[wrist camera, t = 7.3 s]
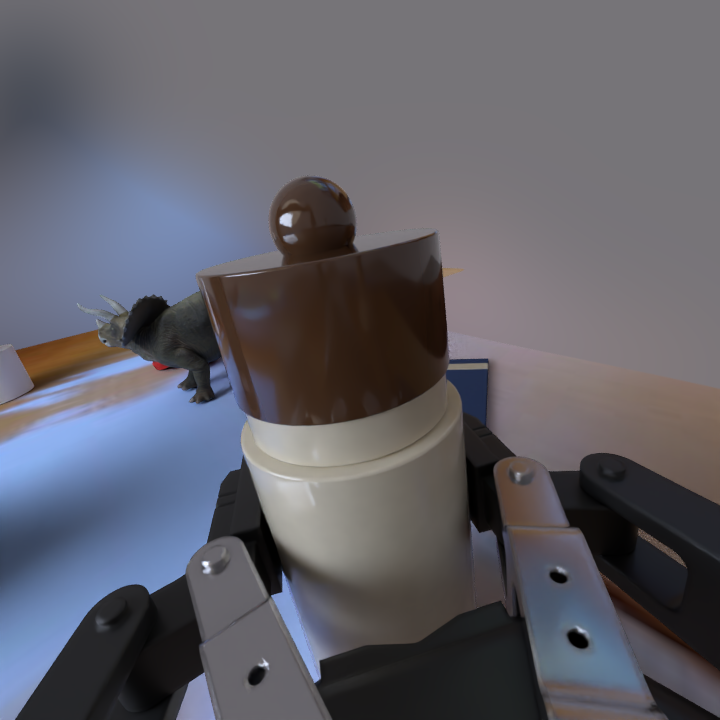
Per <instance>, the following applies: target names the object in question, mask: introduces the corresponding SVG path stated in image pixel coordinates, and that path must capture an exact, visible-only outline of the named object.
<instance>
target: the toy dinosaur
mask: <svg viewBox="0 0 720 720" xmlns="http://www.w3.org/2000/svg"><path fill="white" fill-rule="evenodd" d="M100 297H101V298H103V299H104V300H106V301H107V302H108V303H109V304H110V305H111V306H112V307H113V309H114V310H115V311H116V312H117V313H118V315H119V316H117V315H114V314H112V313H110V312H107V311H104V310H98V309H86V308H84V307H82V306H81V305H80V304H77V306H78V307H79V309H80V310H82V311H83V312H85V313H88V314H92V315H96V316H99V317H102V318H104V319H106V320H108V321H109V322H110V324H108V323H105V322H103V321H101V320H99V319H96V323H97V325H98V328H99V329H98V336H99V339H100V341H101V342H102V343H105V345H107V346H108V347H121V348H126V349H130V350H132V351H133V352H134V353H135V354H138V355H140V356H141V357H142V358H143V359H144V360H147V361H153V362H159V363H160V364H163V365H165V366H169V367H175V368H184V369H187V370H189V374H188V377H187V378H186V379H185V380H184V381H183V382H182V383H180V384H179V385H178V386H177V387H178V388H182V390H188V389H191V388H195V387H197V390H196V394H195V395H194V396H193V397H192V398H191V399H190V401H189V402H190V403H192V402H195V401H196V403H197V404H198V403H200V402H202V401H204V400H207V401H208V400H210V399H211V398H214V397H215V395H214V393H213V390H212V388H211V387H210V367H209V364H208V363H209V362H211V361H215V360H217V359H219V358H220V357H221V354H220V351H219V347H218V344H217V341H216V338H215V335H214V332H213V329H212V326H211V323H210V320H209V317H208V314H207V311H206V307H205V304H204V301H203V298H202V295H201V292H200V291H199V292H196V293H195V294H192V295H191V296H189V297H187V298H185V299H184V300H182V301H181V302H178V303H177V304H175V305H173V306H171V307H170V306H168V305H167V300H164V299H163V298H162V296H160V297H156V296H155V295H152V296H151V297H147V296H145V297H144V298H143V299H138V300H137V302H136V304H134V305H133V307H132V309H131V311H129V312H128V311H127V310H126V309H125V308H124V307H122V306H121V305H120V304H119V303H117V302H115V301H114V300H111V299H109V298H107V297H105V296H103V295H100Z"/></svg>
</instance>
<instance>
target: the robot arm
mask: <svg viewBox="0 0 720 720" xmlns="http://www.w3.org/2000/svg"><path fill="white" fill-rule="evenodd" d="M463 422H464V436H465V450H466V463H467V477H468V491H469V504H470V518H471V521H472V522H473V524H474V525H475V527H476V528H477V530H478V532H479V533H481V532H485V531H488V530H491V529H492V531H493V532H494V534H495V535H496V546H497V553H498V559H499V565H500V572H501V578H502V584H503V590H504V597H505V603H506V609H505V607H504V605H503V604H502V602H501V601H498V602H495V603H492V604H489V605H486V606H483V607H480V608H477V609H474V610H471V611H468V612H465V613H462V614H459V615H457V616H456V617H454V618H453V619H451V620H450V621H448V622H447V623H446V624H444V625H443V626H441V627H440V628H438V629H437V630H435V631H434V632H433V633H431V634H430V635H428V636H427V637H425V638H424V639H423V640H421V641H419V642H416V643H408V644H381V645H365V646H362V647H359V648H356V649H352V650H349V651H346V652H343V653H340V654H337V655H334V656H331V657H328V658H325V659H322V660H319V663H320V675H321V679H320V680H319V681H317V682H316V683H314V681H313V679H312V677H311V675H310V673H309V671H308V669H307V667H306V665H305V663H304V661H303V659H302V657H301V655H300V653H299V651H298V649H297V647H296V645H295V643H294V641H293V639H292V637H291V635H290V633H289V631H288V629H287V627H286V625H285V623H284V621H283V619H282V616H281V614H280V612H279V610H278V608H277V606H276V604H275V602H274V600H273V599H272V597H271V595H274V594H277V593H280V592H282V568H281V565H280V562H279V559H278V556H277V553H276V550H275V547H274V544H273V541H272V538H271V535H270V532H269V529H268V526H267V523H266V520H265V517H264V514H263V511H262V508H261V505H260V502H259V499H258V496H257V493H256V490H255V487H254V485H253V482H252V479H251V476H250V473H249V470H248V467H247V464H246V461H245V458H244V455H243V458H242V464H241V469H239V470H235V471H231V472H230V473H229V474H228V475H227V477H226V478H225V479H224V481H223V482H222V483H221V486H220V490H219V494H218V499H217V503H216V508H215V511H214V515H213V519H212V524H211V528H210V532H209V536H208V540H207V544H205V545H204V546H203V547H201V548H200V549H199V550H198V551H197V552H196V553H195V554H194V555H193V556H192V558H191V559H190V561H189V563H188V565H187V568H186V574H185V575H183V576H182V577H180V578H179V579H177V580H175V581H174V582H172V583H170V584H168V585H166V586H165V587H163V588H161V589H159V590H157V591H156V592H154V593H152V594H149V592H148V590H147V589H146V588H145V587H144V586H142V585H137V584H135V585H128V586H125V587H122V588H119V589H117V590H115V591H113V592H112V593H110V594H108V595H107V596H105V597H104V598H103V599H102V600H100V601H99V602H98V603H97V604H96V605H95V606H94V607H93V608H92V609H91V610H90V611H89V612H88V613H87V615H86V616H85V617H84V619H83V620H82V622H81V623H80V625H79V626H78V628H77V629H76V630H75V632H74V633H73V635H72V636H71V638H70V639H69V641H68V642H67V644H66V645H65V647H64V648H63V650H62V651H61V653H60V654H59V656H58V657H57V658H56V660H55V661H54V663H53V664H52V666H51V667H50V669H49V670H48V672H47V673H46V675H45V676H44V678H43V679H42V681H41V682H40V684H39V685H38V687H37V688H36V689H35V691H34V692H33V694H32V695H31V697H30V698H29V700H28V701H27V703H26V704H25V706H24V707H23V709H22V710H21V712H20V713H19V715H18V716H17V718H16V719H15V720H176V718H177V715H178V712H179V710H180V707H181V704H182V701H183V698H184V696H185V693H186V690H187V687H188V684H189V682H190V681H192V680H193V679H195V678H196V677H198V676H199V675H201V674H202V673H204V672H205V676H206V681H207V685H208V689H209V693H210V697H211V702H212V706H213V710H214V714H215V718H216V720H720V718H719V717H717V716H716V715H714V714H712V713H710V712H709V711H707V710H705V709H703V708H702V707H700V706H698V705H696V704H695V703H693V702H691V701H689V700H688V699H686V698H684V697H682V696H681V695H679V694H677V693H675V692H674V691H672V690H670V689H668V688H667V687H665V686H663V685H662V684H660V683H658V682H656V681H655V680H653V679H651V678H649V677H648V676H646V675H644V674H642V671H641V669H640V667H639V664H638V662H637V660H636V657H635V655H634V653H633V650H632V648H631V646H630V643H629V641H628V639H627V636H626V634H625V631H624V629H623V627H622V624H621V622H620V620H619V617H618V615H617V613H616V610H615V608H614V606H613V603H612V601H611V599H610V596H609V594H608V591H607V589H606V587H605V584H604V582H603V580H602V577H601V575H600V573H599V571H600V572H601V573H603V574H604V575H605V576H606V577H607V578H609V579H610V580H611V581H612V582H613V583H615V584H616V585H617V586H618V587H619V588H621V589H622V590H623V591H624V592H625V593H627V594H628V595H629V596H630V597H631V598H633V599H634V600H635V601H636V602H637V603H639V604H640V605H641V606H642V607H643V608H645V609H646V610H647V611H648V612H649V613H651V614H652V615H653V616H654V617H655V618H657V619H658V620H659V621H660V622H661V623H663V624H664V625H665V626H666V627H667V628H669V629H670V630H671V631H672V632H673V633H675V634H676V635H677V636H678V637H679V638H681V639H682V640H683V641H684V642H685V643H687V644H688V645H689V646H690V647H691V648H693V649H694V650H695V651H696V652H697V653H699V654H700V655H701V656H702V657H704V658H705V659H706V660H707V661H708V662H710V663H711V664H712V665H713V666H714V667H716V668H717V669H718V670H719V671H720V505H718V504H716V503H714V502H712V501H710V500H708V499H706V498H704V497H702V496H700V495H698V494H696V493H694V492H692V491H690V490H688V489H686V488H684V487H682V486H681V485H679V484H677V483H675V482H673V481H671V480H669V479H667V478H665V477H663V476H661V475H659V474H657V473H655V472H653V471H651V470H649V469H647V468H645V467H643V466H641V465H639V464H637V463H636V462H634V461H632V460H630V459H627V458H625V457H622V456H619V455H615V454H609V453H595V454H591V455H588V456H586V457H584V458H583V459H582V461H581V463H580V471H558V472H555V471H548V470H547V469H546V468H545V467H544V466H543V465H542V464H541V463H539V462H537V461H535V460H533V459H530V458H526V457H517V456H516V455H515V454H514V453H513V452H512V451H510V450H509V449H508V448H507V447H506V446H505V445H504V444H503V443H502V442H501V441H500V440H499V439H498V438H497V437H496V436H495V435H494V434H492V432H491V431H490V430H489V429H488V428H487V427H485V425H484V424H483V423H482V422H481V421H480V420H479V419H478V418H477V417H474V416H472V415H470V414H468V413H465V412H463ZM639 528H640V529H642V530H643V531H645V532H646V533H648V534H649V535H651V536H652V537H654V538H655V539H657V540H658V541H660V542H661V543H663V544H664V545H666V546H667V547H669V548H670V549H672V550H673V551H674V552H676V553H677V554H678V555H679V556H680V557H681V559H682V560H683V561H684V563H685V564H686V566H687V568H686V567H684V566H683V565H681V564H680V563H678V562H677V561H675V560H674V559H672V558H671V557H669V556H668V555H666V554H665V553H663V552H662V551H660V550H659V549H658V548H656V547H655V546H653V545H652V544H650V543H649V542H647V541H646V540H644V539H643V538H641V537H640V536H638V529H639ZM506 610H507V611H506Z"/></svg>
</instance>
